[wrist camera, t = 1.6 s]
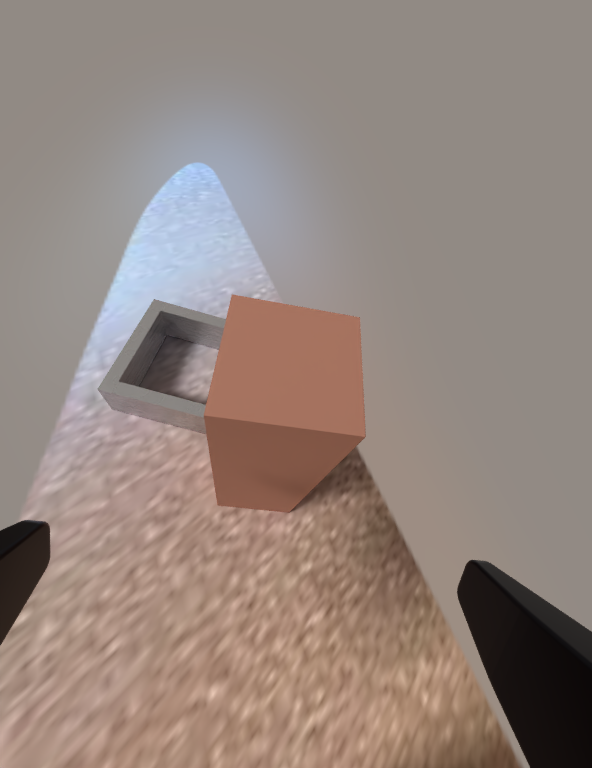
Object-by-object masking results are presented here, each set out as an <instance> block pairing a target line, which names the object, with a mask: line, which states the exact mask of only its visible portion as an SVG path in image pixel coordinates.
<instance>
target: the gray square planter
mask: <svg viewBox="0 0 592 768" xmlns="http://www.w3.org/2000/svg"><path fill="white" fill-rule="evenodd" d="M225 322H226V319H222V318H219V317H215V316H212V315H208V314H205V313H201V312H198V311H194V310H190V309H187V308H183V307H180V306H176V305H173V304H169V303H166V302H162V301H159V300H155V299H154V300H153V302H152V303H151V305H150V307H149V308H148V310H147V311H146V313H145V315H144V316H143V318H142V319H141V321H140V323H139V324H138V326H137V327H136V329H135V330H134V332H133V334H132V335H131V337H130V338H129V340H128V342H127V343H126V345H125V346H124V348H123V350H122V351H121V353H120V354H119V356H118V358H117V359H116V361H115V362H114V364H113V365H112V367H111V369H110V370H109V372H108V373H107V375H106V377H105V378H104V380H103V381H102V383H101V385H100V386H99V388H98V391H99V392H100V393H101V395H102V396H103V398H104V399H105V400H106V402H107V403H108V405H109V406H110V407H111V409H113V410H117V411H120V412H124V413H128V414H132V415H136V416H139V417H143V418H147V419H151V420H155V421H158V422H162V423H166V424H170V425H173V426H177V427H181V428H185V429H189V430H192V431H196V432H200V433H204V434H206V427H205V421H204V412H205V407H206V405H204V404H201V403H197V402H193V401H190V400H186V399H182V398H178V397H175V396H171V395H167V394H163V393H160V392H156V391H152V390H149V389H145V388H141V387H139V385H140V383H141V381H142V379H143V378H144V376H145V374H146V372H147V370H148V369H149V367H150V365H151V363H152V361H153V359H154V358H155V356H156V354H157V352H158V350H159V349H160V347H161V345H162V343H163V341H164V339H165V338H166V336H167V335H168V336H172V337H176V338H179V339H183V340H187V341H190V342H194V343H197V344H201V345H205V346H208V347H212V348H215V349H219V348H220V343H221V339H222V335H223V331H224V326H225Z"/></svg>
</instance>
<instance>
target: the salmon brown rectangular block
mask: <svg viewBox="0 0 592 768" xmlns="http://www.w3.org/2000/svg"><path fill="white" fill-rule="evenodd" d="M204 421H205V427H206V434H207V440H208V446H209V453H210V459H211V466H212V472H213V478H214V485H215V491H216V498H217V504H218V505H219V506H229V507H239V508H249V509H259V510H269V511H279V512H290V511H291V510H292V509H293V508H294V507H295V506H296V505H297V504H298V503H299V502H300V501H301V500H302V499H303V498H304V497H305V496H306V495H307V494H308V493H309V492H310V491H311V490H312V489H313V488H314V487H315V486H316V485H317V484H318V483H319V482H320V481H321V480H322V479H323V478H324V477H325V476H327V475H328V474H329V473H330V472H331V471H332V470H333V469H334V468H335V467H336V466H337V465H338V464H339V463H340V462H341V461H342V460H343V459H344V458H345V457H346V456H347V455H348V454H349V453H350V452H351V451H352V450H353V449H354V448H355V447H356V446H357V445H358V444H359V443H360V442H361V441H362V440H363V439H364V438H365V437H366V435H365V414H364V394H363V373H362V353H361V333H360V317H354V316H348V315H343V314H337V313H331V312H326V311H321V310H315V309H310V308H304V307H298V306H293V305H287V304H282V303H276V302H271V301H265V300H259V299H254V298H248V297H243V296H237V295H232V297H231V301H230V305H229V309H228V314H227V318H226V322H225V326H224V331H223V335H222V339H221V343H220V348H219V352H218V356H217V361H216V365H215V369H214V373H213V378H212V382H211V386H210V390H209V395H208V399H207V403H206V407H205V412H204Z"/></svg>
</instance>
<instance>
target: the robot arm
mask: <svg viewBox="0 0 592 768" xmlns="http://www.w3.org/2000/svg"><path fill="white" fill-rule="evenodd" d="M49 560H50V527H49V524H48V523H46V522H44V521H33V520H24V521H21V522H18V523H16V524H14V525H12V526H10V527H7V528H5V529H3V530H1V531H0V645H1V644H2V642H3V640H4V639H5V637H6V635H7V634H8V632H9V630H10V629H11V627H12V625H13V624H14V622H15V620H16V619H17V617H18V615H19V614H20V612H21V610H22V609H23V607H24V605H25V604H26V602H27V600H28V599H29V597H30V595H31V594H32V592H33V590H34V589H35V587H36V585H37V584H38V582H39V580H40V579H41V577H42V575H43V573H44V572H45V570H46V568H47V566H48V563H49ZM457 594H458V599H459V602H460V605H461V608H462V610H463V613H464V616H465V618H466V621H467V623H468V626H469V629H470V631H471V634H472V636H473V639H474V642H475V644H476V647H477V650H478V652H479V655H480V657H481V660H482V662H483V665H484V667H485V670H486V673H487V675H488V678H489V680H490V682H491V684H492V687H493V689H494V691H495V693H496V695H497V698H498V700H499V702H500V704H501V706H502V708H503V710H504V713H505V715H506V717H507V719H508V721H509V723H510V725H511V728H512V730H513V732H514V734H515V736H516V738H517V740H518V742H519V745H520V747H521V749H522V751H523V753H524V755H525V757H526V759H527V762H528V764H529V765H530V768H592V632H591V631H589V630H588V629H587V628H585V627H584V626H582V625H581V624H579V623H578V622H576V621H575V620H574V619H572V618H571V617H569V616H568V615H566V614H564V613H563V612H562V611H560V610H559V609H557V608H556V607H554V606H553V605H551V604H550V603H548V602H547V601H545V600H544V599H542V598H541V597H539V596H538V595H537V594H535V593H533V592H532V591H530V590H529V589H528V588H526V587H525V586H523V585H522V584H520V583H519V582H517V581H516V580H514V579H513V578H512V577H510V576H509V575H507V574H505V573H504V572H503V571H501V570H500V569H498V568H497V567H495V566H494V565H492V564H491V563H489V562H486V561H478V560H470V561H469V562H468V563H467V564H466V566H465V569H464V572H463V574H462V577H461V580H460V583H459V585H458V591H457Z"/></svg>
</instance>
